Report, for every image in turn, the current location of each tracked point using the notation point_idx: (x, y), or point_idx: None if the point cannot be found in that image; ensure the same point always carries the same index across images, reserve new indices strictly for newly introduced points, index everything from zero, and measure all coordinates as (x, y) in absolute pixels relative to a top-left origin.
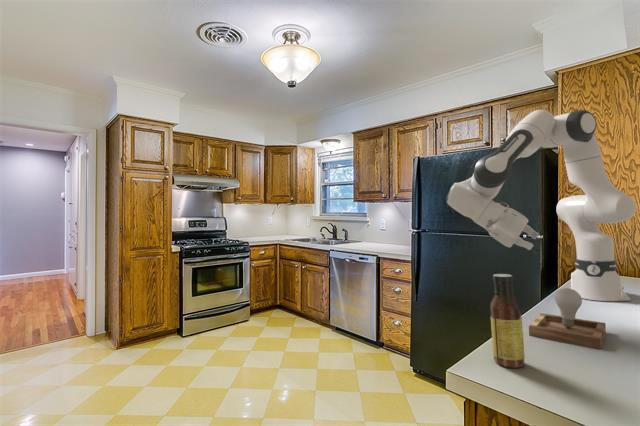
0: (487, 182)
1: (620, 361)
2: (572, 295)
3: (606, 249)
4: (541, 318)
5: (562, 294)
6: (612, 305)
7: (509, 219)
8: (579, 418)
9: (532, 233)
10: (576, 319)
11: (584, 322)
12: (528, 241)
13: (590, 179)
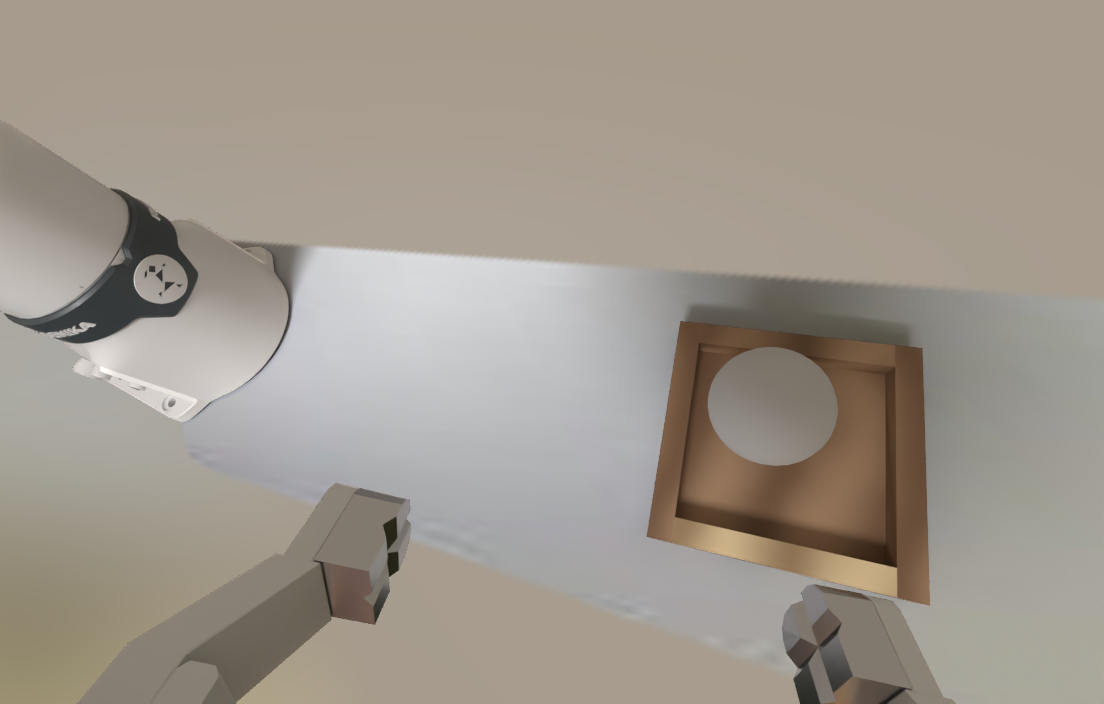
0: None
1: (996, 321)
2: (825, 377)
3: (59, 168)
4: (744, 539)
5: (830, 422)
6: (331, 297)
7: None
8: None
9: (374, 585)
10: (681, 404)
11: (693, 382)
12: (865, 676)
13: None
